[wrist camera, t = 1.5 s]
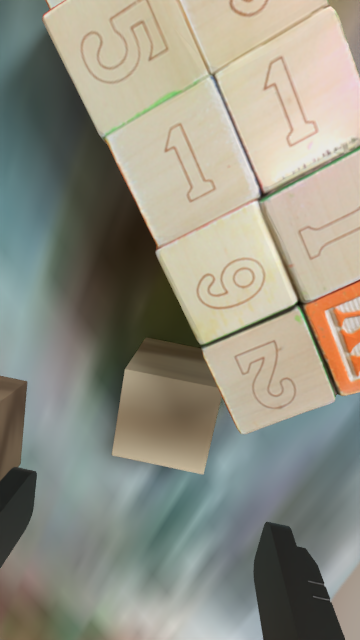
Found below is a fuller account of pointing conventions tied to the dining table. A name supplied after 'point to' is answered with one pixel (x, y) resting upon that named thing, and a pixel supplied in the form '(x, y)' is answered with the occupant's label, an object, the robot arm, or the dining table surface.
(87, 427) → the dining table surface
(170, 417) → the birch block
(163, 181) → the stack of blocks
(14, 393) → the tower base
